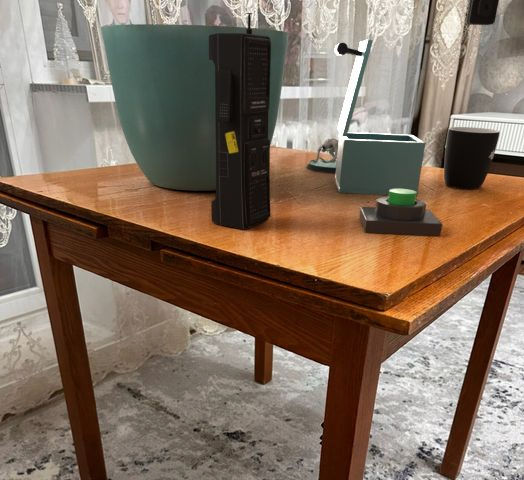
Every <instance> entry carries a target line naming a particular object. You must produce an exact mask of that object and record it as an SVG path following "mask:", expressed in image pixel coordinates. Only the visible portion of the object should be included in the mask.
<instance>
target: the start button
mask: <svg viewBox="0 0 524 480" xmlns="http://www.w3.org/2000/svg"><path fill="white" fill-rule="evenodd" d="M388 197H389V198H388V202H389V203H392V204H397V205H415V199H417V196H416V191H413V190H409V189H391V190H390V191H389V195H388Z"/></svg>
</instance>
